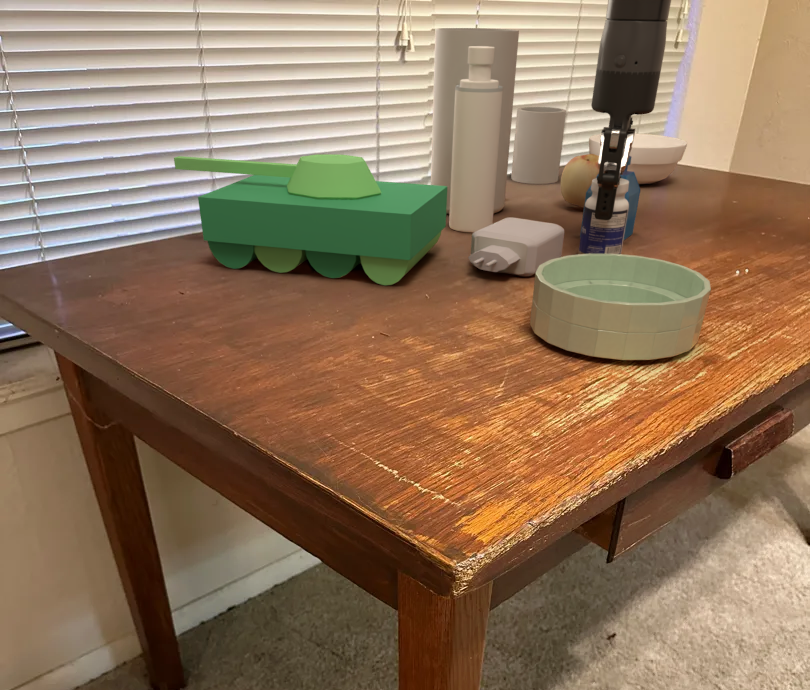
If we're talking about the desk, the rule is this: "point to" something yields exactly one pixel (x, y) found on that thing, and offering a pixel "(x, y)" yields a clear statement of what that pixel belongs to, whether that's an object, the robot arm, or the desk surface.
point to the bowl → (649, 155)
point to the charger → (516, 246)
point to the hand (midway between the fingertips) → (605, 212)
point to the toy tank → (318, 216)
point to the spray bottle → (475, 144)
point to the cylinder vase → (446, 76)
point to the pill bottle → (604, 224)
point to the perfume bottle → (630, 196)
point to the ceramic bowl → (619, 306)
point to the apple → (578, 178)
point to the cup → (538, 144)
